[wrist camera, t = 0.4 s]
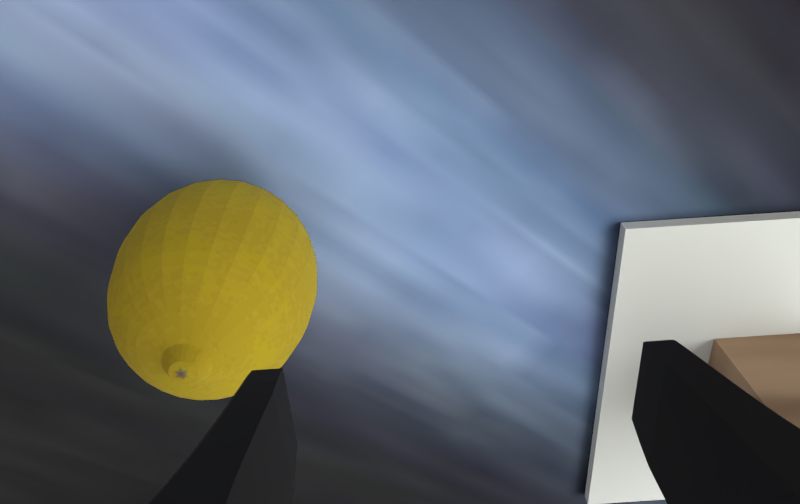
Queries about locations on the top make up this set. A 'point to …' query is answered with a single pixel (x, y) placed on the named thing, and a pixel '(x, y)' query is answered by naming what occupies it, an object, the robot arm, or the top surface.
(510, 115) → the top surface
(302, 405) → the top surface
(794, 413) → the walnut block
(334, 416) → the top surface
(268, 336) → the lemon
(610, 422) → the mat
